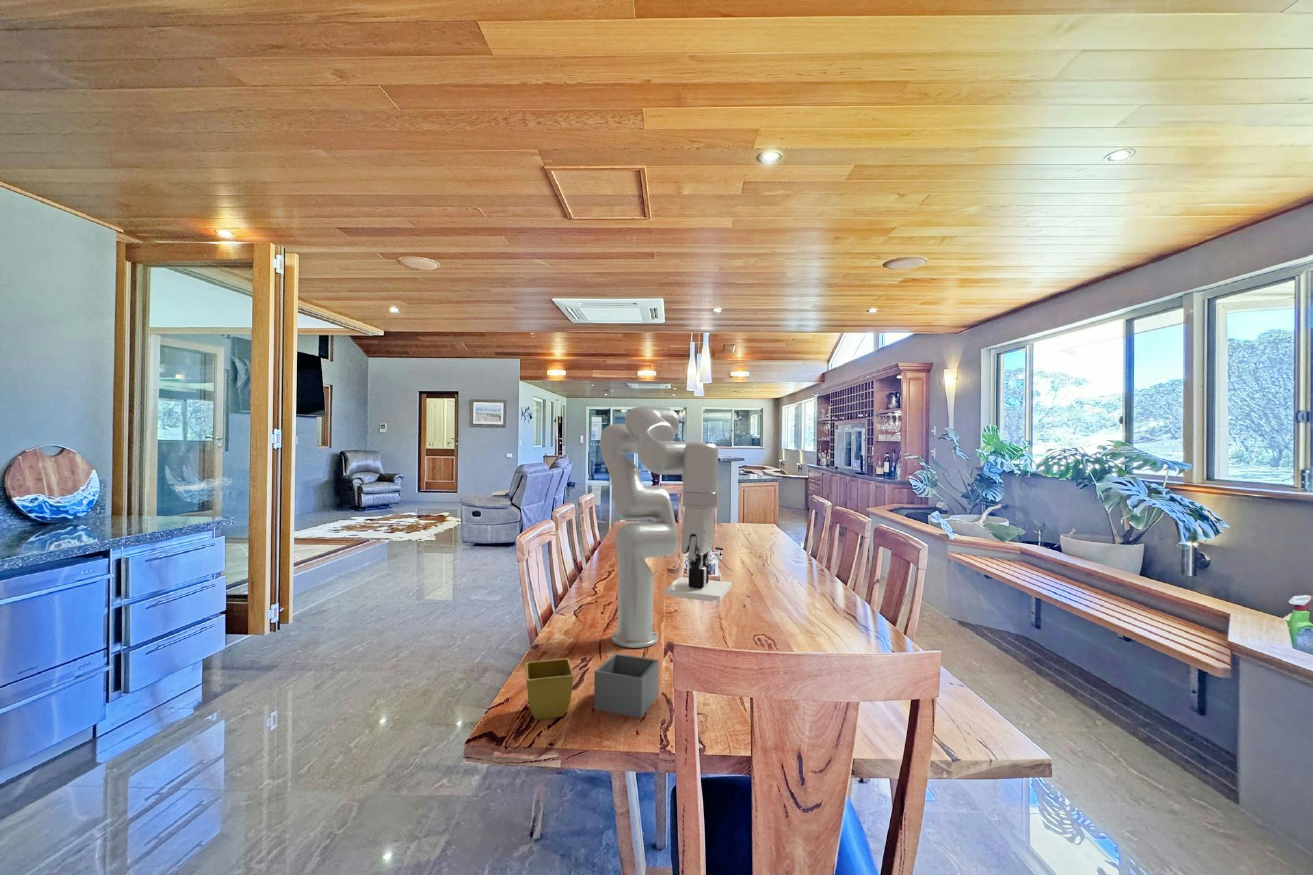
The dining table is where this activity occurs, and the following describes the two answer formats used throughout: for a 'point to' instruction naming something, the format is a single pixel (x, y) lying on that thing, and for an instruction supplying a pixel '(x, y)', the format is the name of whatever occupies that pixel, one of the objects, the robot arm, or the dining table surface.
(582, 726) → the dining table surface
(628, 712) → the open box
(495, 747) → the dining table surface
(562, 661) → the flower pot
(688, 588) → the lid
